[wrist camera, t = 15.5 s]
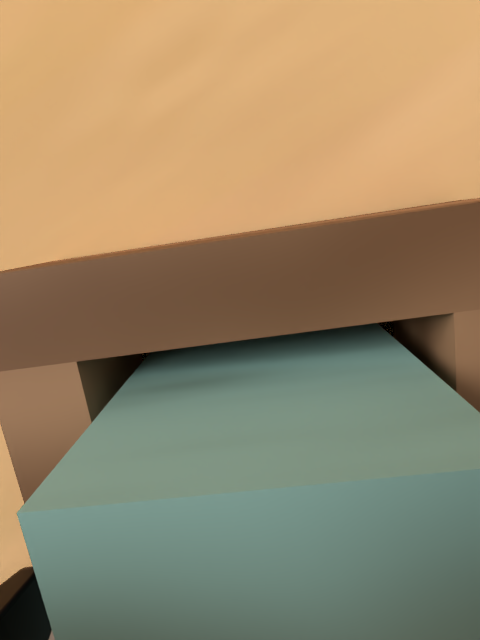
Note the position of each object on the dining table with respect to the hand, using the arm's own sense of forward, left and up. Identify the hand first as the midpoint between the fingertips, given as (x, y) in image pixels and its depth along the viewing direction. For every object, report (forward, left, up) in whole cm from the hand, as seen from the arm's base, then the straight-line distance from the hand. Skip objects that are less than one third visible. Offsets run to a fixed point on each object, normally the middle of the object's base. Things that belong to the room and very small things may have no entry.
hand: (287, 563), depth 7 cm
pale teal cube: (0, 0, -6) cm, 6 cm away
